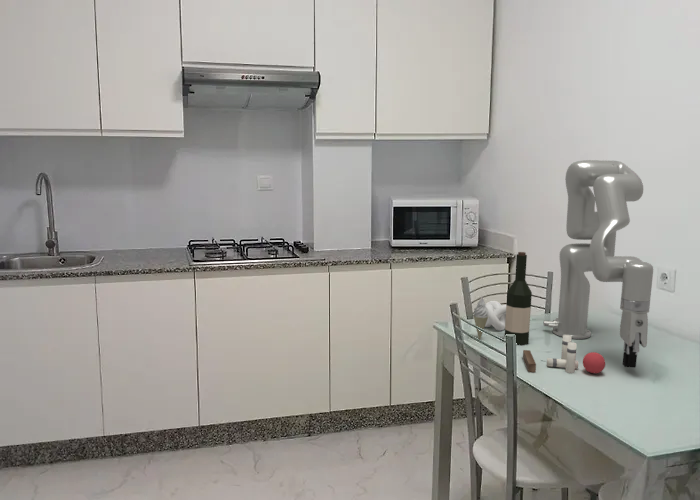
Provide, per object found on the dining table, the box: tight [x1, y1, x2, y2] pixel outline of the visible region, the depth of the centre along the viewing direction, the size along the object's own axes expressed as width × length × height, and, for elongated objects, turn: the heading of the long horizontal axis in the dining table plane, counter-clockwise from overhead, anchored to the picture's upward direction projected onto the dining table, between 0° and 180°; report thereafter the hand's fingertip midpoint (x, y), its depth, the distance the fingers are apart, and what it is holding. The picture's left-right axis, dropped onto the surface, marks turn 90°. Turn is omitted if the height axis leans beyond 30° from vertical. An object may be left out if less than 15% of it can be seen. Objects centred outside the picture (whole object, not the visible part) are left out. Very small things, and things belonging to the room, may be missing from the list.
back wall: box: [522, 349, 537, 373], centre depth 178 cm, size 2×12×2 cm, turn 171°
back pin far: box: [560, 335, 572, 360], centre depth 179 cm, size 2×2×8 cm
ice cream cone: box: [473, 295, 489, 340], centre depth 200 cm, size 5×5×15 cm
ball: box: [582, 351, 606, 374], centre depth 172 cm, size 6×6×6 cm
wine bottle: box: [504, 251, 533, 346], centre depth 197 cm, size 8×8×30 cm
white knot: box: [484, 300, 506, 332], centre depth 214 cm, size 11×12×9 cm
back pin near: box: [565, 341, 577, 374], centre depth 172 cm, size 2×2×8 cm
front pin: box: [546, 357, 579, 370], centre depth 176 cm, size 2×2×8 cm
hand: (629, 366), depth 174 cm, fingers closed
